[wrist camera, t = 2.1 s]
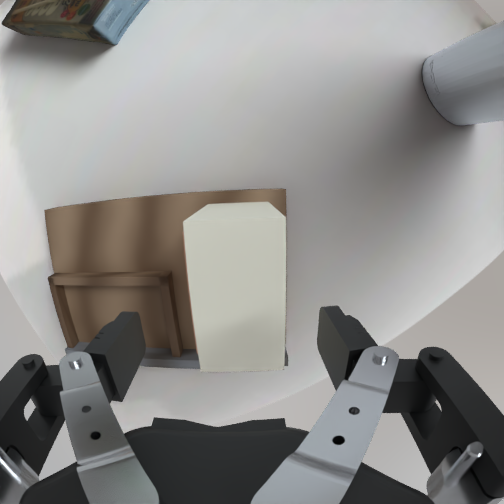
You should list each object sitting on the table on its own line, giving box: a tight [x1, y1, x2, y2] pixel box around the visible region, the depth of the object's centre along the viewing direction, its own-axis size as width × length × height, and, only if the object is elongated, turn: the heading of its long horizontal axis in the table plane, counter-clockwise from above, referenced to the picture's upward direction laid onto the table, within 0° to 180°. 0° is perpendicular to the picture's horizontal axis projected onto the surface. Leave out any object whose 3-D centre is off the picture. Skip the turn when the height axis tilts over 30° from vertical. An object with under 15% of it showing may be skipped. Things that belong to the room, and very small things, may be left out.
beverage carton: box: [2, 0, 149, 45], centre depth 15 cm, size 8×19×7 cm, turn 63°
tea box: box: [182, 202, 286, 372], centre depth 19 cm, size 5×9×10 cm, turn 2°
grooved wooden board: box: [45, 189, 288, 369], centre depth 25 cm, size 24×16×4 cm
